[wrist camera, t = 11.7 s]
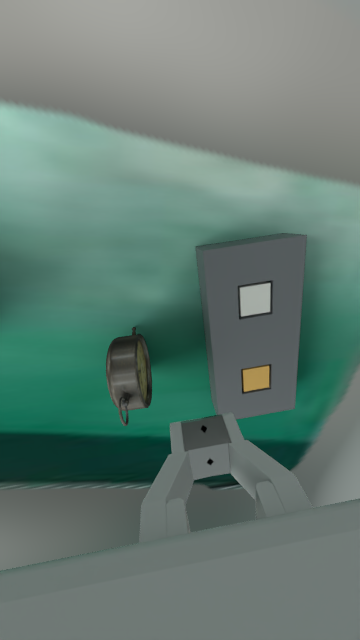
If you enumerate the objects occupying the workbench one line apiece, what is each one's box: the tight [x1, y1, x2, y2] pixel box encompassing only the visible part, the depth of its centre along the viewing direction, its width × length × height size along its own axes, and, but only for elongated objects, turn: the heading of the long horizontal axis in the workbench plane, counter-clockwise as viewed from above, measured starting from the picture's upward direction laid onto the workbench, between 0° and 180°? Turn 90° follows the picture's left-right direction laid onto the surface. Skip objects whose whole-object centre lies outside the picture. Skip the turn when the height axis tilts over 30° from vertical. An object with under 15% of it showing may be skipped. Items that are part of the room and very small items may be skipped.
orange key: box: [241, 365, 269, 392], centre depth 41 cm, size 4×4×3 cm
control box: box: [196, 233, 307, 419], centre depth 40 cm, size 14×30×6 cm, turn 8°
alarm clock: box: [106, 327, 152, 426], centre depth 35 cm, size 11×5×16 cm, turn 8°
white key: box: [238, 281, 271, 317], centre depth 36 cm, size 4×4×3 cm
